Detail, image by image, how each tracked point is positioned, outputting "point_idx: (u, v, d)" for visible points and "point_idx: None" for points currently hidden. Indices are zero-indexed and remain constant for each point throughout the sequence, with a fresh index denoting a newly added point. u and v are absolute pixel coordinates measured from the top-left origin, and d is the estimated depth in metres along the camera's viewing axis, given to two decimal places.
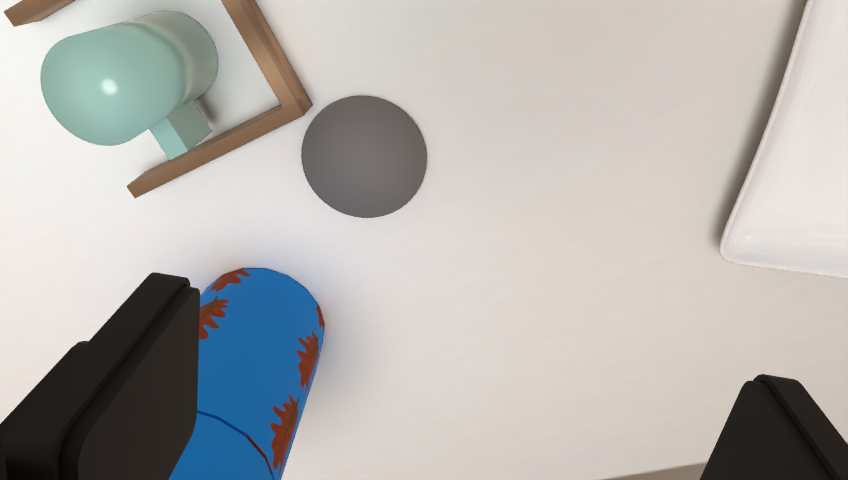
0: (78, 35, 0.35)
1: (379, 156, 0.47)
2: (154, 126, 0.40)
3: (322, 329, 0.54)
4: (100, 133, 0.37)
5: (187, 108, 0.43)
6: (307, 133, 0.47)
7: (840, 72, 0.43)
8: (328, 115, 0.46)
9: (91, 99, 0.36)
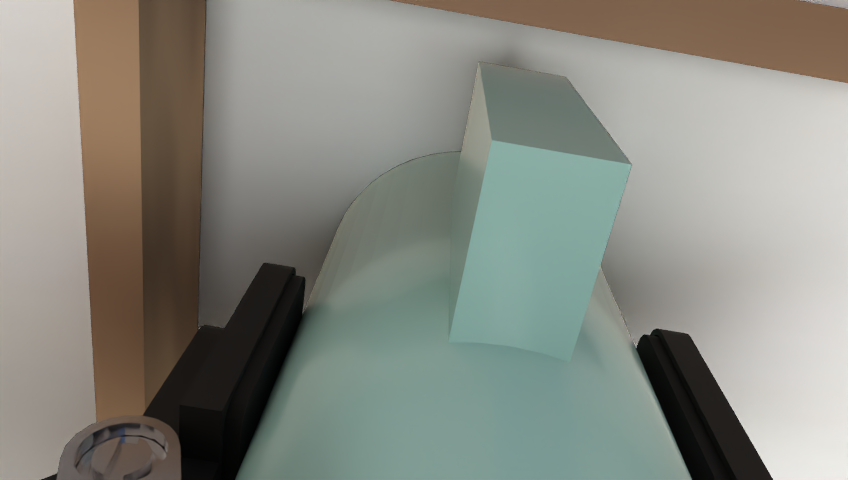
0: None
1: None
2: (539, 342, 0.07)
3: None
4: None
5: (454, 214, 0.10)
6: None
7: None
8: None
9: None
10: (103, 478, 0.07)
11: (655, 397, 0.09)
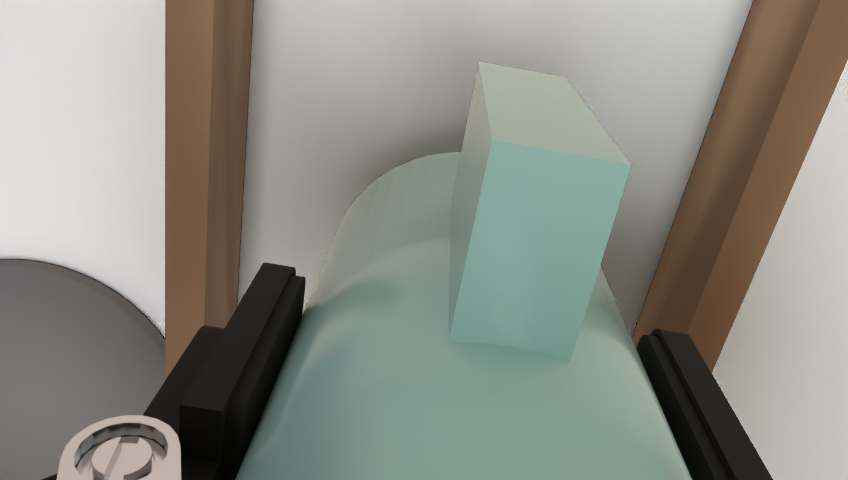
0: None
1: (35, 419, 0.22)
2: (540, 342, 0.07)
3: None
4: None
5: (454, 214, 0.10)
6: (145, 341, 0.20)
7: None
8: None
9: None
10: (103, 478, 0.07)
11: (655, 397, 0.09)
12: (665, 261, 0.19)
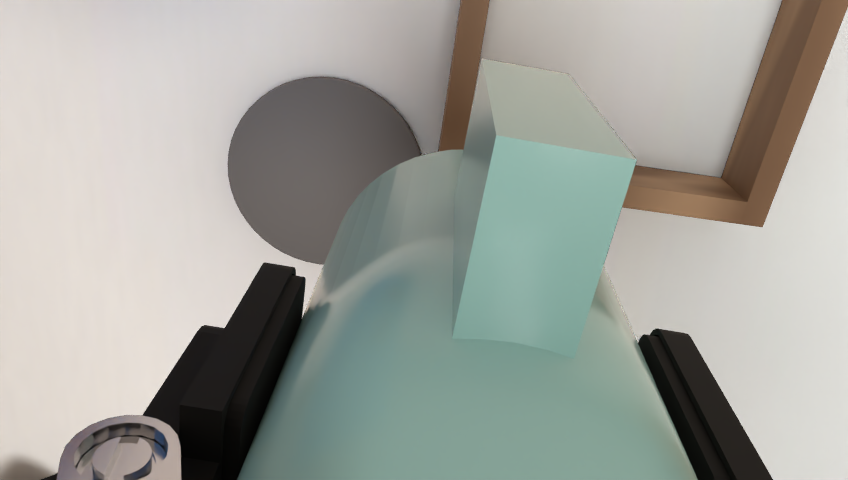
0: None
1: (318, 200, 0.31)
2: (544, 338, 0.07)
3: None
4: None
5: (457, 211, 0.10)
6: (406, 132, 0.29)
7: None
8: None
9: None
10: (103, 478, 0.07)
11: (659, 394, 0.09)
12: (768, 54, 0.28)
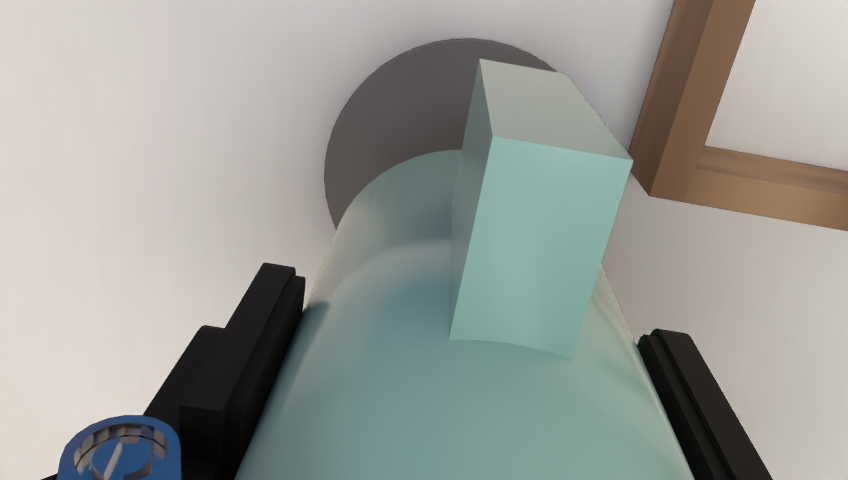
0: None
1: None
2: (540, 339, 0.07)
3: None
4: None
5: (454, 211, 0.10)
6: None
7: None
8: None
9: None
10: (103, 478, 0.07)
11: (656, 395, 0.09)
12: None
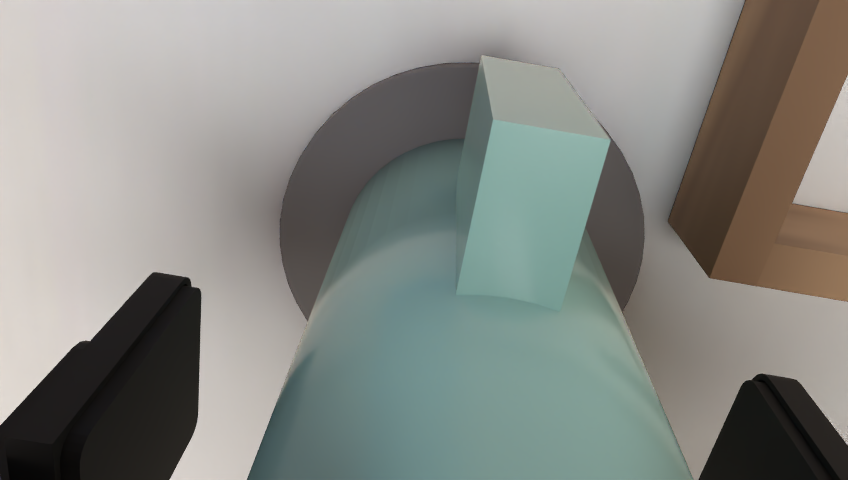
0: None
1: None
2: (534, 294, 0.09)
3: None
4: None
5: (459, 191, 0.11)
6: (626, 173, 0.15)
7: None
8: (622, 252, 0.16)
9: None
10: None
11: (636, 348, 0.10)
12: None
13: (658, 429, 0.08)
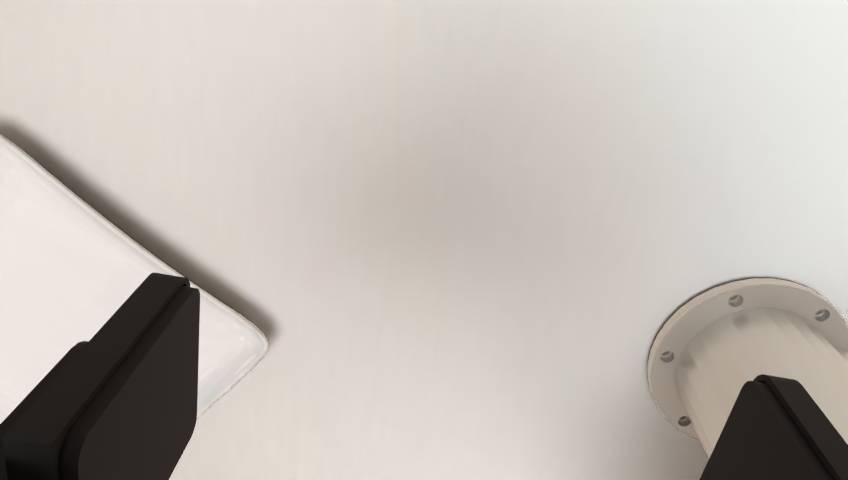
0: None
1: None
2: None
3: None
4: None
5: None
6: None
7: None
8: None
9: None
10: None
11: None
12: None
13: None
